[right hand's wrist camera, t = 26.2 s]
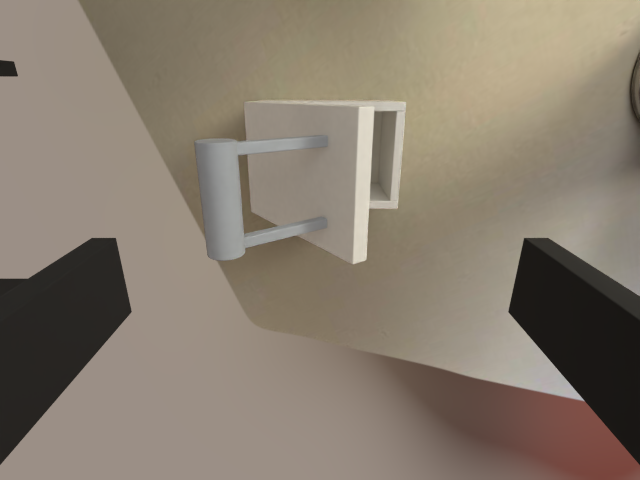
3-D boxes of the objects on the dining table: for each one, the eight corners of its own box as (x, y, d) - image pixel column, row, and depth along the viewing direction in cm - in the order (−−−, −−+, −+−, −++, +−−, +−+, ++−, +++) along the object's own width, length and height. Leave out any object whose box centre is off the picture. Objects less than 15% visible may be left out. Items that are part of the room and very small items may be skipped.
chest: (389, 99, 41) (406, 101, 33) (383, 187, 44) (397, 209, 36) (264, 99, 41) (251, 101, 33) (268, 187, 44) (257, 208, 36)
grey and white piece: (374, 106, 22) (215, 110, 16) (366, 260, 25) (233, 305, 20) (256, 101, 32) (137, 102, 27) (262, 209, 36) (158, 229, 31)
